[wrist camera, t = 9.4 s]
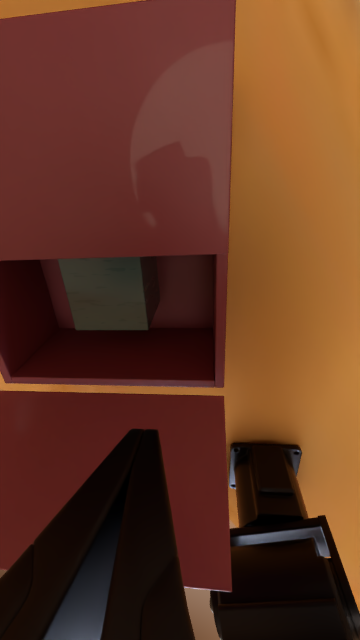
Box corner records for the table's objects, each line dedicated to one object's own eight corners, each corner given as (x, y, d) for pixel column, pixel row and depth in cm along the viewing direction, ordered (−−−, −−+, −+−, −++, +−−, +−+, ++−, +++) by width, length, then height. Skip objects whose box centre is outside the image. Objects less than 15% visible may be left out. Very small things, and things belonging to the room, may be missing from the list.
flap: (224, 395, 14) (223, 398, 15) (-4, 390, 16) (0, 392, 16) (232, 592, 10) (231, 590, 10) (-90, 561, 11) (-81, 560, 11)
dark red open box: (219, 330, 21) (224, 398, 14) (58, 330, 22) (-4, 392, 16) (223, 75, 14) (238, -16, 7) (-10, 97, 15) (-171, 36, 9)
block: (154, 237, 17) (160, 300, 19) (89, 239, 18) (101, 301, 20) (139, 253, 14) (148, 330, 16) (56, 256, 14) (75, 330, 16)
